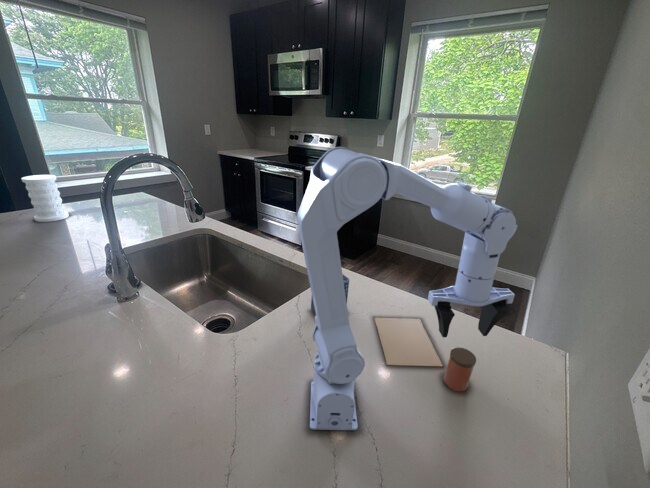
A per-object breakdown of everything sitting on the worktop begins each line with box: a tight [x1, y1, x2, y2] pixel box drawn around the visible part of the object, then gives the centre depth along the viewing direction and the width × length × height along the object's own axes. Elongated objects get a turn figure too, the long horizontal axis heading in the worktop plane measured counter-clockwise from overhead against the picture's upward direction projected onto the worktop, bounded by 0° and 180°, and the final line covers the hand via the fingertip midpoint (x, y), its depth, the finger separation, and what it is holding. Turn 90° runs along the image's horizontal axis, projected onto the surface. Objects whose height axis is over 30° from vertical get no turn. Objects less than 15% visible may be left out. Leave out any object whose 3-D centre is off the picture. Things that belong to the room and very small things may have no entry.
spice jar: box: [443, 346, 477, 392], centre depth 58 cm, size 5×5×7 cm
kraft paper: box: [374, 317, 444, 368], centre depth 71 cm, size 16×12×1 cm
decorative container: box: [20, 174, 70, 223], centre depth 129 cm, size 12×12×18 cm
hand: (462, 333), depth 57 cm, fingers open, 7 cm apart
